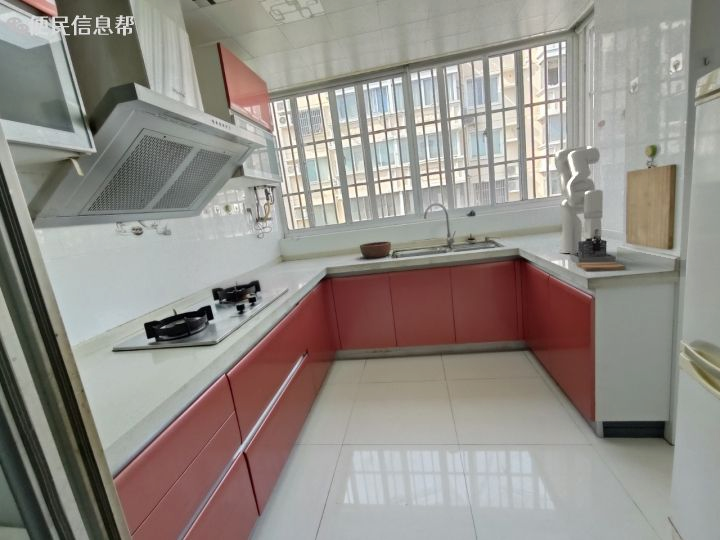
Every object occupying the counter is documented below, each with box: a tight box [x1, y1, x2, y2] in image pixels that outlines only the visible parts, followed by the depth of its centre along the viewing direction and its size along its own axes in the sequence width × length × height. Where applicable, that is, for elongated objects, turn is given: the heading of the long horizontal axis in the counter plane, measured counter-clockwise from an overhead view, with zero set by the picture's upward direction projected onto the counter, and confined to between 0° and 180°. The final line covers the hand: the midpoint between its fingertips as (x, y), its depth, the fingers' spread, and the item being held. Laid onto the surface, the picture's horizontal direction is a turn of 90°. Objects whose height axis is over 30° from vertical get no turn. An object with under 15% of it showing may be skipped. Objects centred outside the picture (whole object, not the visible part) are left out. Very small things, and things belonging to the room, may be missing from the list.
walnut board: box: [576, 261, 627, 272], centre depth 153 cm, size 13×15×2 cm
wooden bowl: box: [359, 241, 392, 259], centre depth 264 cm, size 25×25×10 cm
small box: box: [578, 239, 608, 258], centre depth 166 cm, size 11×6×10 cm, turn 74°
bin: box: [570, 252, 617, 264], centre depth 166 cm, size 13×16×3 cm
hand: (592, 249), depth 165 cm, fingers open, 9 cm apart
